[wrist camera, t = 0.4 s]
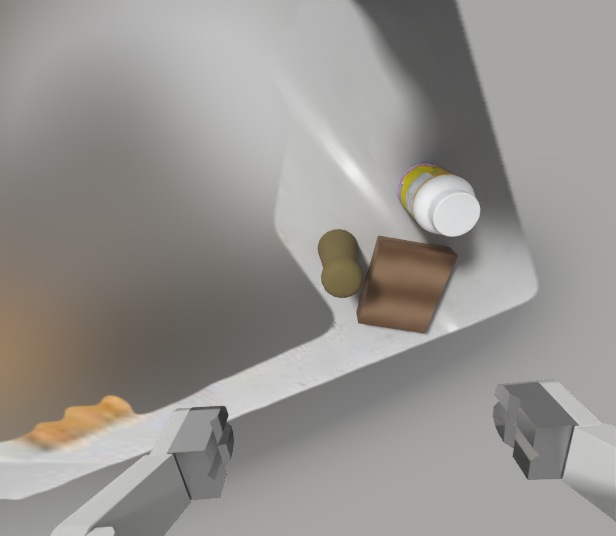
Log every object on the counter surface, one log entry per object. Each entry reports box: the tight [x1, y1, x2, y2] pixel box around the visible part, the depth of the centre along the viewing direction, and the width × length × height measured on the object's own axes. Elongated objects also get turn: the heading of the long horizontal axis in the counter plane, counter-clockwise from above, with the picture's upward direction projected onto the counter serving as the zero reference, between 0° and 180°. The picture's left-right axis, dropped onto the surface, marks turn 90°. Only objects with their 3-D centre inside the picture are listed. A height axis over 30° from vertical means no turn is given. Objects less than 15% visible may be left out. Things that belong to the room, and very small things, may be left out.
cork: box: [318, 229, 363, 298], centre depth 43 cm, size 6×6×11 cm
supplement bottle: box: [397, 163, 480, 237], centre depth 38 cm, size 7×7×13 cm
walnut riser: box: [356, 236, 457, 333], centre depth 49 cm, size 14×11×3 cm
